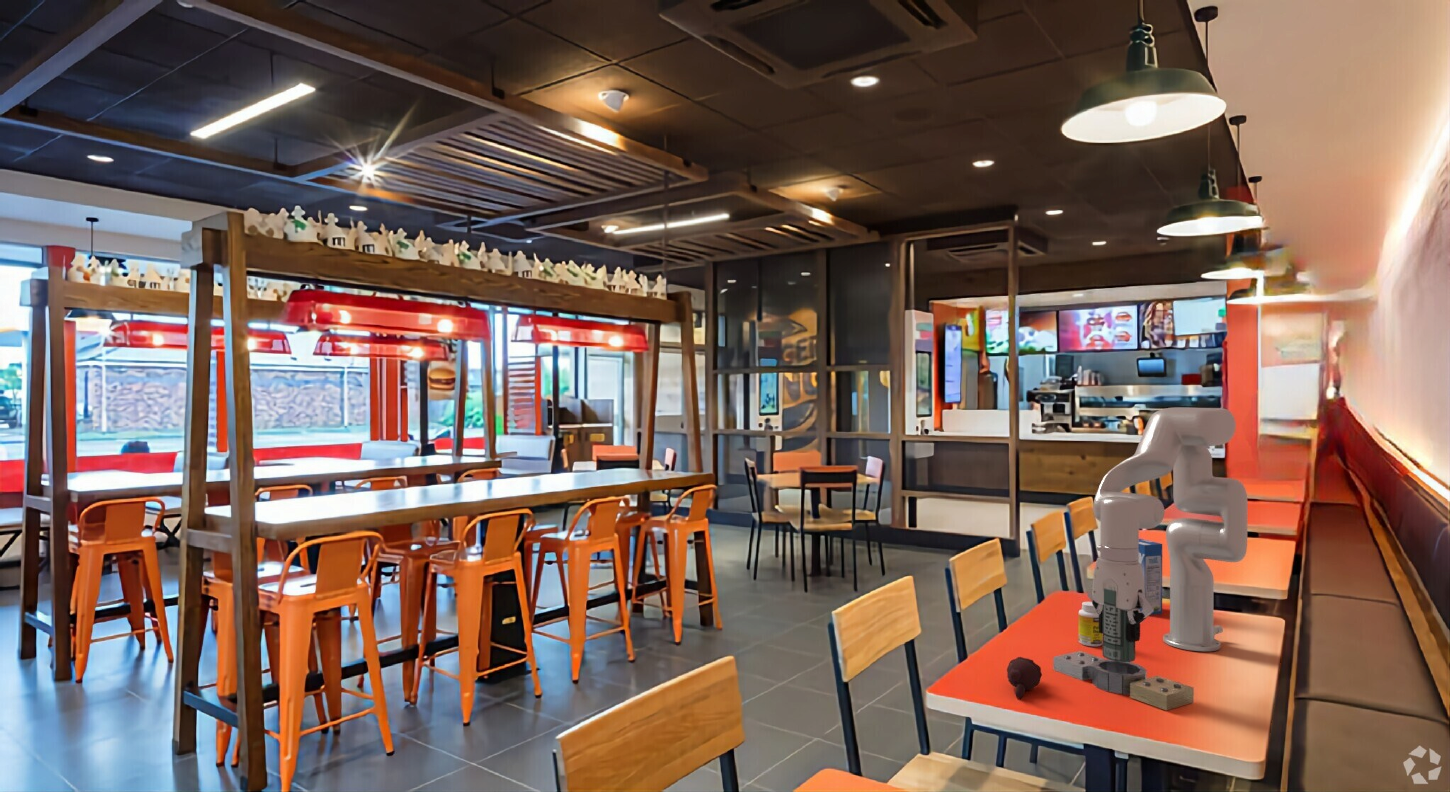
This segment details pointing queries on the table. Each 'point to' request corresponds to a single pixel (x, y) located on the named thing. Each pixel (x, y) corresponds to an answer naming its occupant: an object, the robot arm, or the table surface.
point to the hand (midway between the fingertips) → (1119, 635)
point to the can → (1116, 631)
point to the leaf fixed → (1100, 671)
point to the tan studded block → (1161, 692)
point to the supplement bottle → (1089, 626)
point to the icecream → (1023, 675)
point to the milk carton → (1152, 573)
